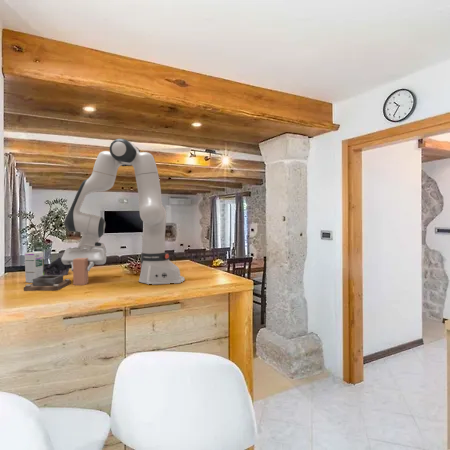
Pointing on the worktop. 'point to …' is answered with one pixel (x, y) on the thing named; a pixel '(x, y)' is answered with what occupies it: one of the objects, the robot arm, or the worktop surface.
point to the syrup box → (34, 265)
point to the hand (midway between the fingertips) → (80, 270)
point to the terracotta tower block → (80, 271)
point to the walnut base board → (47, 283)
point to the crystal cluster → (56, 268)
